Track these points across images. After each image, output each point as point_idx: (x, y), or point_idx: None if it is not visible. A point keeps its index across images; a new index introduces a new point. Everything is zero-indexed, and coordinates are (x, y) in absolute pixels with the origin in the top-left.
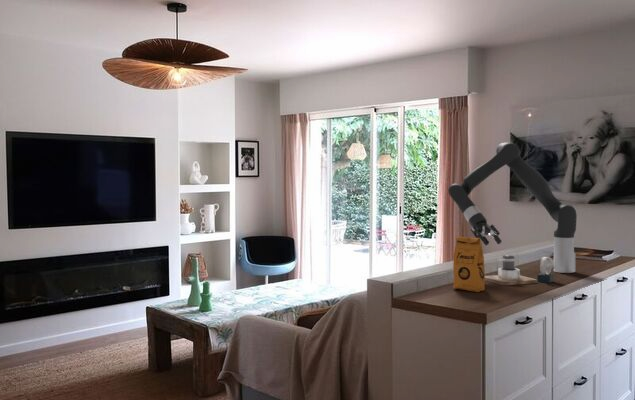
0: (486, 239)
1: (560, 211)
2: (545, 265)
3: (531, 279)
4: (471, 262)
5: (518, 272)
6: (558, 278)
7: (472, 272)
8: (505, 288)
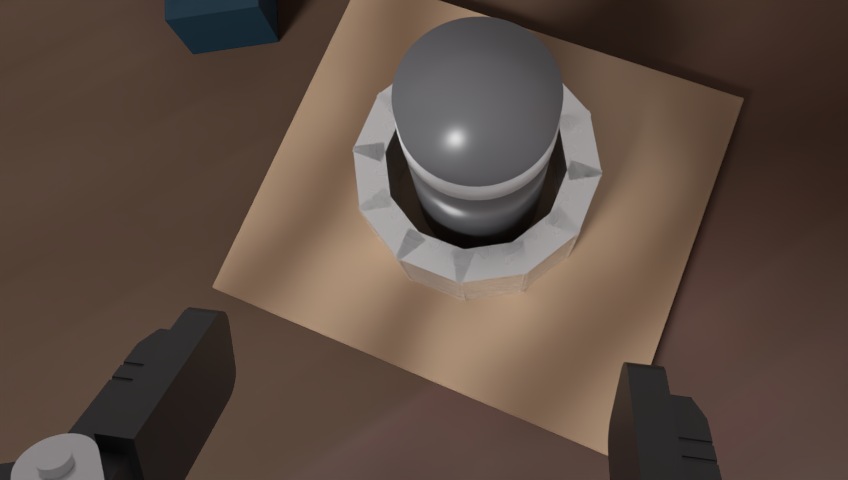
0: (664, 430)
1: None
2: None
3: (391, 13)
4: None
5: None
6: (10, 10)
7: None
8: (836, 17)
